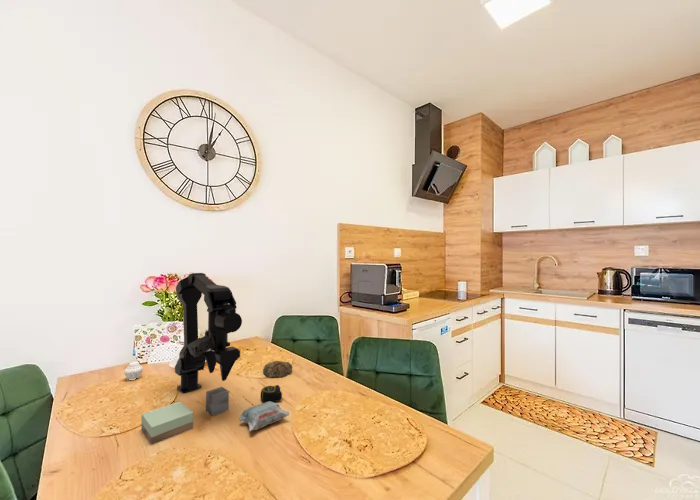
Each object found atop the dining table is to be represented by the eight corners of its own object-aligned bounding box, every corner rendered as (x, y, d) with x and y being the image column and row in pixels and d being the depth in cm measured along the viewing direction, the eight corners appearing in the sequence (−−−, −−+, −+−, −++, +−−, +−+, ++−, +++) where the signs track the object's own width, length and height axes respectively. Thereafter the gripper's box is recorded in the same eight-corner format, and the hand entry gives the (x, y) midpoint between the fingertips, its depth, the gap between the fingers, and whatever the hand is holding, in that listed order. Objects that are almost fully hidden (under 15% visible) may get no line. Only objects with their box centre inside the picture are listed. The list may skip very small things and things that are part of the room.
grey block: (205, 410, 94) (206, 391, 94) (221, 405, 97) (221, 386, 98) (212, 416, 90) (212, 396, 91) (228, 410, 94) (228, 391, 94)
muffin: (121, 380, 118) (121, 362, 118) (138, 374, 123) (138, 357, 123) (128, 383, 115) (128, 365, 115) (145, 377, 120) (146, 360, 120)
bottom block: (141, 432, 83) (141, 423, 83) (180, 418, 91) (180, 409, 91) (151, 447, 76) (151, 437, 77) (192, 430, 84) (192, 421, 84)
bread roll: (263, 369, 130) (263, 357, 130) (292, 366, 133) (292, 355, 133) (262, 380, 118) (262, 367, 118) (293, 377, 121) (293, 365, 121)
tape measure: (282, 402, 99) (282, 391, 99) (260, 405, 97) (260, 394, 97) (280, 394, 106) (280, 383, 106) (260, 396, 103) (260, 385, 104)
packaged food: (289, 422, 87) (289, 405, 87) (249, 438, 79) (249, 419, 80) (275, 411, 94) (275, 395, 94) (237, 425, 86) (237, 407, 86)
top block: (141, 422, 83) (141, 413, 83) (180, 409, 91) (180, 401, 91) (151, 437, 77) (151, 427, 77) (192, 421, 84) (193, 412, 84)
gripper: (180, 326, 95) (179, 376, 95) (203, 337, 82) (202, 394, 82) (215, 321, 103) (214, 366, 103) (241, 330, 91) (240, 381, 90)
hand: (217, 376), depth 94 cm, fingers open, 9 cm apart
